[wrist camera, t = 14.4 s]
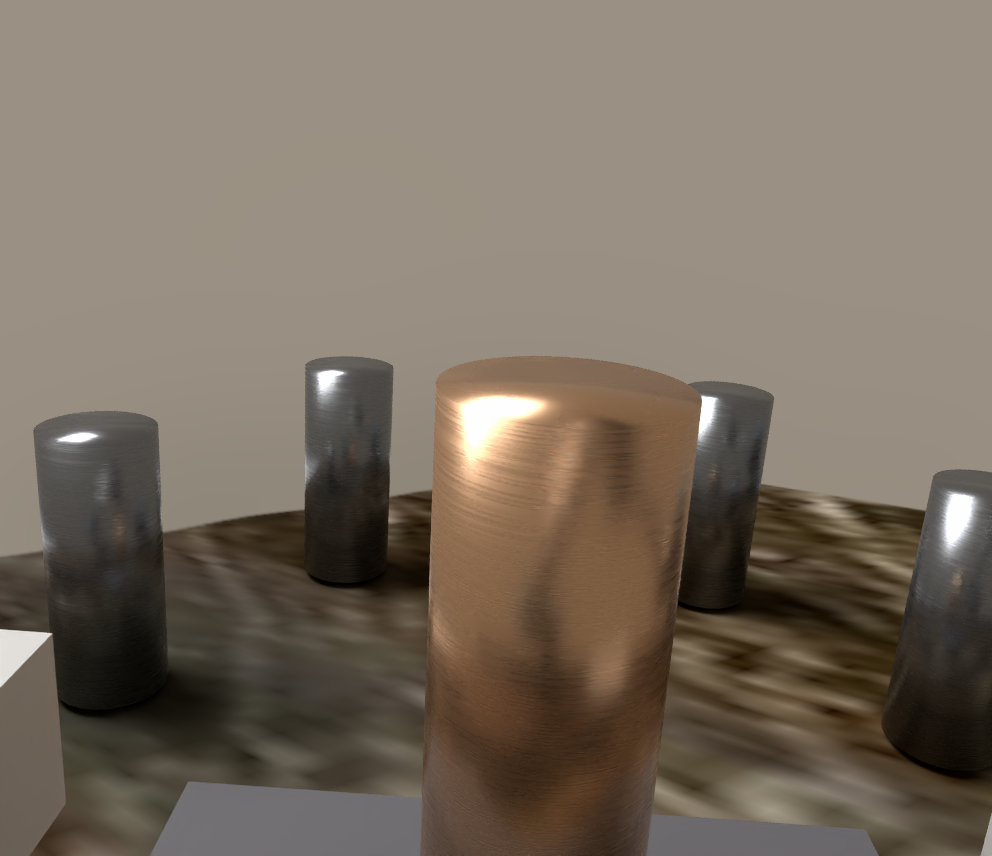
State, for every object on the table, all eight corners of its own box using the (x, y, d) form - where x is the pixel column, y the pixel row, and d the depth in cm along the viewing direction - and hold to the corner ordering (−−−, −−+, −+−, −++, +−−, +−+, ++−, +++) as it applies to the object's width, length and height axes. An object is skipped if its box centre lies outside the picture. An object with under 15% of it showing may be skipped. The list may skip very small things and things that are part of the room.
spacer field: (868, 583, 39) (905, 394, 36) (1017, 774, 27) (1086, 515, 25) (179, 535, 39) (173, 344, 37) (34, 705, 27) (10, 440, 25)
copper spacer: (621, 879, 22) (680, 363, 18) (644, 1060, 17) (726, 435, 14) (427, 866, 22) (446, 350, 18) (404, 1044, 17) (422, 418, 14)
